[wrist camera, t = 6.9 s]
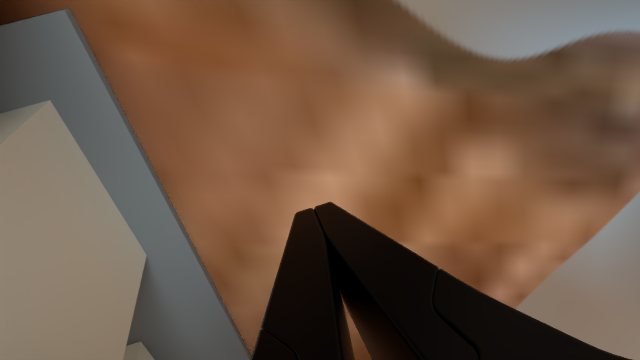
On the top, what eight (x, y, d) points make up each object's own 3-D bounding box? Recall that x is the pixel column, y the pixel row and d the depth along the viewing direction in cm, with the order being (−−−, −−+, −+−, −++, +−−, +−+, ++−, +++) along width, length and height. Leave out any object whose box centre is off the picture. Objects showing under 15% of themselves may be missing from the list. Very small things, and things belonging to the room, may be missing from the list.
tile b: (146, 255, 14) (96, 477, 8) (89, 273, 14) (-5, 513, 8) (50, 100, 11) (-154, 279, 5) (-27, 120, 10) (-335, 334, 5)
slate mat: (269, 391, 20) (270, 398, 20) (16, 480, 19) (13, 489, 19) (69, 7, 10) (64, 9, 10) (-496, 151, 9) (-523, 158, 9)
